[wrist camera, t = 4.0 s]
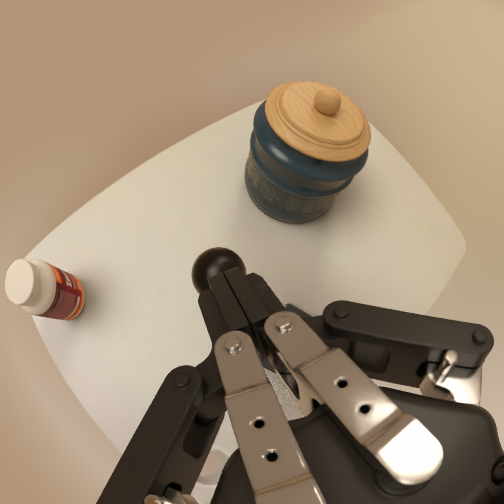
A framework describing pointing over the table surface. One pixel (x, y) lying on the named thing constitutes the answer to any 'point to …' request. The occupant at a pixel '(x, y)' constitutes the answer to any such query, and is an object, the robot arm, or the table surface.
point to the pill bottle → (44, 289)
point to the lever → (214, 266)
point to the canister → (304, 150)
